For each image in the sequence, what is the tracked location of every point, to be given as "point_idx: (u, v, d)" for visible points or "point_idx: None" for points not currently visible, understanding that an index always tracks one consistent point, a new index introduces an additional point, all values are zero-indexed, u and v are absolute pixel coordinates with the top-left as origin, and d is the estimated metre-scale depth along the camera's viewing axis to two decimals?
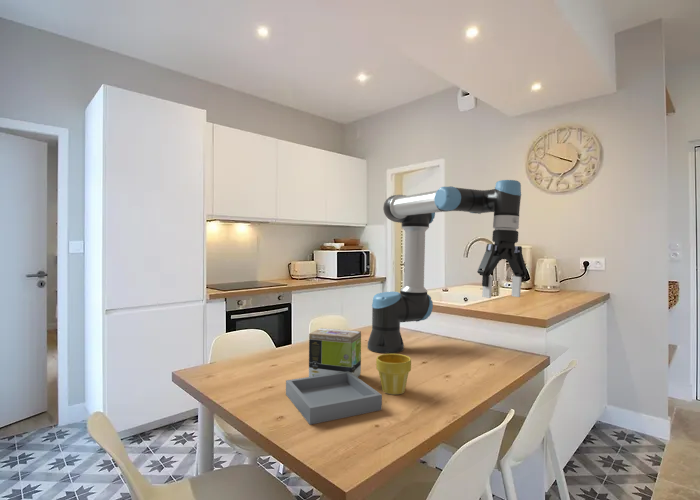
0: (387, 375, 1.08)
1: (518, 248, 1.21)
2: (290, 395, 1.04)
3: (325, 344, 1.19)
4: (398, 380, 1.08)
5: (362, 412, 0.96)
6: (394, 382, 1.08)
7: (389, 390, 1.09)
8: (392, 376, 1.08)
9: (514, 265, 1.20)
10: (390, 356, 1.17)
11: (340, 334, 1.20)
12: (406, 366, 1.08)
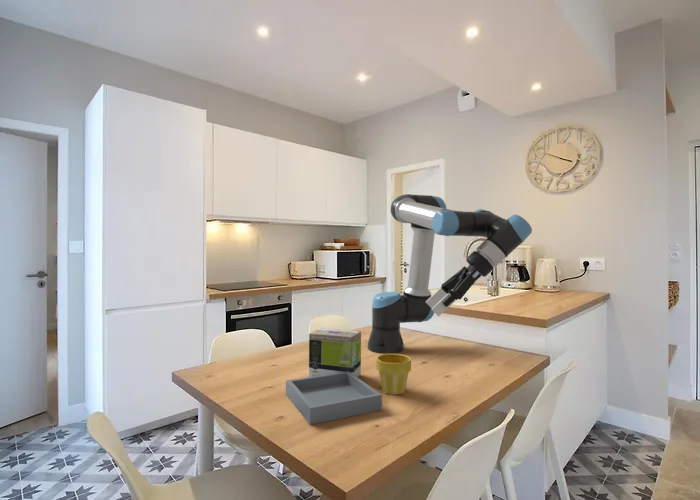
0: (387, 375, 1.08)
1: None
2: (290, 395, 1.04)
3: (325, 344, 1.19)
4: (398, 380, 1.08)
5: (362, 412, 0.96)
6: (394, 382, 1.08)
7: (389, 390, 1.09)
8: (392, 376, 1.08)
9: (455, 285, 1.15)
10: (390, 356, 1.17)
11: (340, 334, 1.20)
12: (406, 366, 1.08)
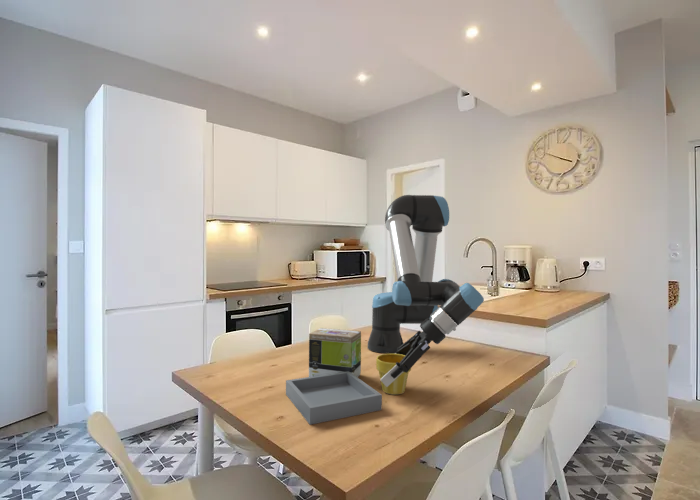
0: None
1: None
2: (290, 395, 1.04)
3: (325, 344, 1.19)
4: (398, 380, 1.08)
5: (362, 412, 0.96)
6: (394, 382, 1.08)
7: (389, 390, 1.09)
8: None
9: (410, 350, 1.15)
10: (390, 356, 1.17)
11: (340, 334, 1.20)
12: None
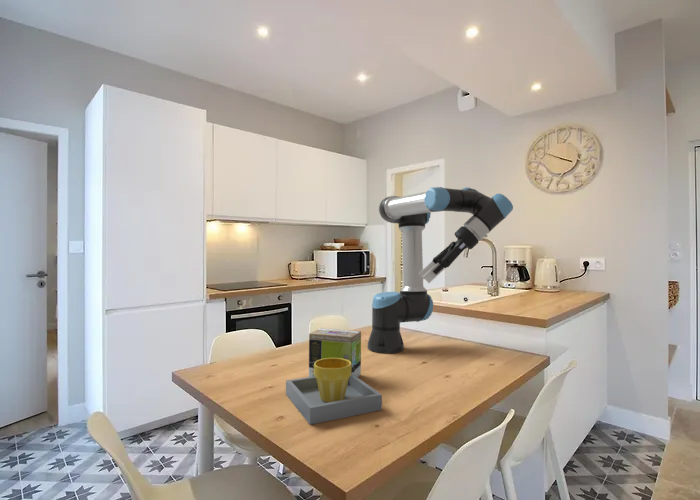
0: (323, 381, 0.99)
1: None
2: (290, 395, 1.04)
3: (325, 344, 1.19)
4: (335, 387, 0.99)
5: (362, 412, 0.96)
6: (331, 389, 0.99)
7: (326, 398, 1.00)
8: (328, 383, 0.99)
9: None
10: (331, 360, 1.08)
11: (340, 334, 1.20)
12: (344, 371, 0.99)
